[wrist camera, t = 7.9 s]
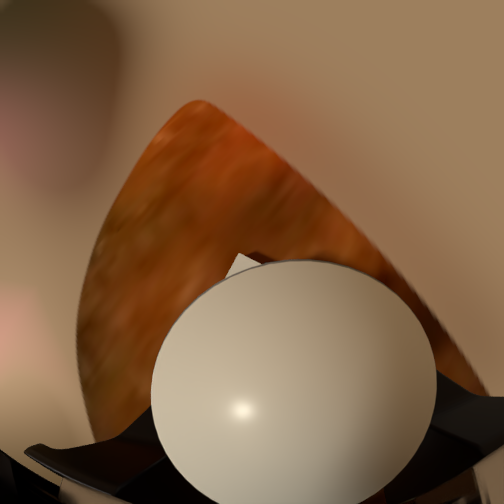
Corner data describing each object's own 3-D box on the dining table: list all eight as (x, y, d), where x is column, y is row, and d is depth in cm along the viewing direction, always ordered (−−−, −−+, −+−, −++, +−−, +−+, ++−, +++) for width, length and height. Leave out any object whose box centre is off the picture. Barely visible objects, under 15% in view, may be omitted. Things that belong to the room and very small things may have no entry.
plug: (287, 392, 15) (269, 548, 2) (243, 342, 16) (102, 374, 3) (339, 348, 15) (477, 396, 2) (295, 298, 16) (311, 198, 4)
